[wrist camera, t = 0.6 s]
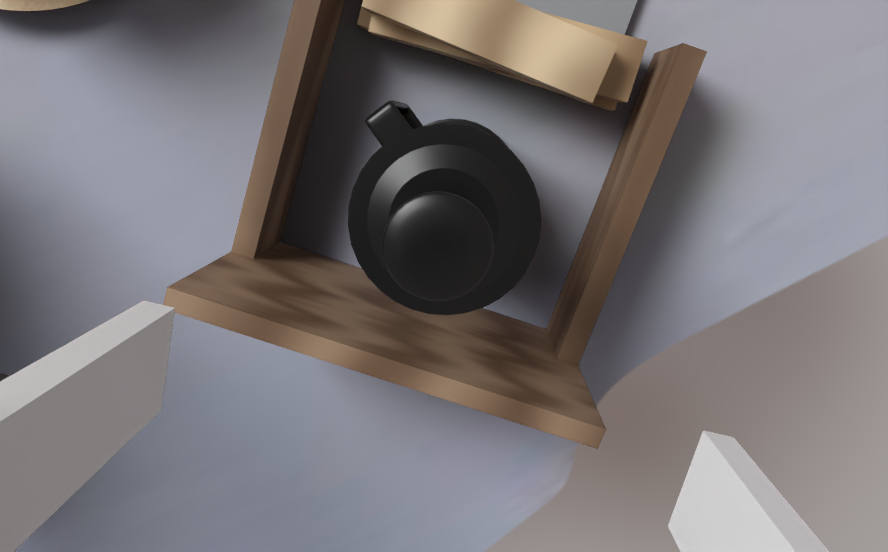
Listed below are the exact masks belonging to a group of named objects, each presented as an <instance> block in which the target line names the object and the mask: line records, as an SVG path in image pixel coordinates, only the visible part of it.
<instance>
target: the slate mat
mask: <svg viewBox="0 0 888 552" xmlns="http://www.w3.org/2000/svg"><path fill="white" fill-rule="evenodd" d="M515 1H517V2H519V3H522V4H524V5H526V6H529V7H531V8H534V9H536V10H538V11H541V12H545V13H548V14H552V15H555V16H559V17H563V18H566V19H570V20H573V21H577V22H581V23H584V24H588V25H591V26H595V27H599V28H602V29H606V30H609V31H613V32H617V33H620V34H624V35H625V32H626V29H627V27H628V24H629V22H630V19H631V16H632V14H633V11H634V8H635V6H636V3H637V0H515Z"/></svg>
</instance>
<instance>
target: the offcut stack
mask: <svg viewBox="0 0 888 552" xmlns="http://www.w3.org/2000/svg"><path fill="white" fill-rule="evenodd" d="M361 6H362V7H361V10H360V14H359V18H358V22H357V24H358V25H359V26H360V27H361V28H364V29H367V30H368V31H369V32H370V33H371V34H372V35H374V36H378V37H382V38H385V39H389V40H393V41H396V42H400V43H403V44H407V45H411V46H414V47H418V48H422V49H425V50H429V51H432V52H435V53H438V54H441V55H444V56H447V57H450V58H453V59H456V60H459V61H462V62H465V63H468V64H471V65H474V66H477V67H480V68H483V69H486V70H489V71H492V72H495V73H498V74H501V75H504V76H507V77H510V78H513V79H516V80H519V81H522V82H525V83H528V84H531V85H534V86H537V87H540V88H543V89H546V90H549V91H552V92H555V93H558V94H561V95H564V96H567V97H570V98H573V99H576V100H579V101H581V102H583V103H586V104H591V105H594V106H597V107H600V108H602V109H605V110H608V111H613V110H615V108H616V106H617V103H627V102H628V100H629V97H630V94H631V90H632V87H633V84H634V81H635V78H636V75H637V72H638V69H639V66H640V63H641V60H642V57H643V54H644V50H645V47H646V44H647V41H645V40H642V39H638V38H635V37H631V36H627V35H624V34H620V33H617V32H613V31H609V30H606V29H602V28H599V27H595V26H591V25H588V24H584V23H581V22H577V21H573V20H570V19H566V18H563V17H559V16H555V15H552V14H548V13H545V12H541V11H538V10H536V9H534V8H531V7H529V6H526V5H524V4H522V3H519V2H517V1H515V0H363V2H362V5H361Z"/></svg>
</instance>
